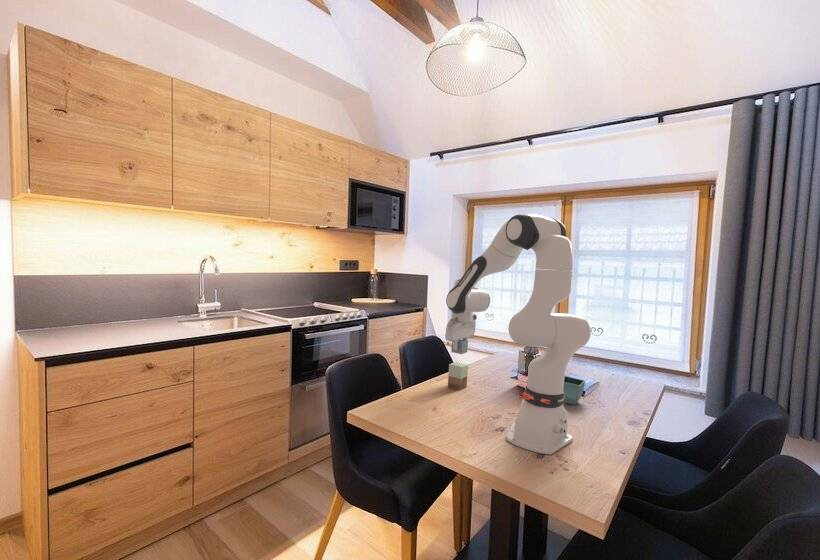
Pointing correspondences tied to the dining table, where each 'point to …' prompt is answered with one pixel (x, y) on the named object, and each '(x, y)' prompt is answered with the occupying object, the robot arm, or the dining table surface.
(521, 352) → the candy bar box
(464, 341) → the slate cube
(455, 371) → the sage block
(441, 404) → the dining table surface
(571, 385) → the flower pot
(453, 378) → the walnut block
